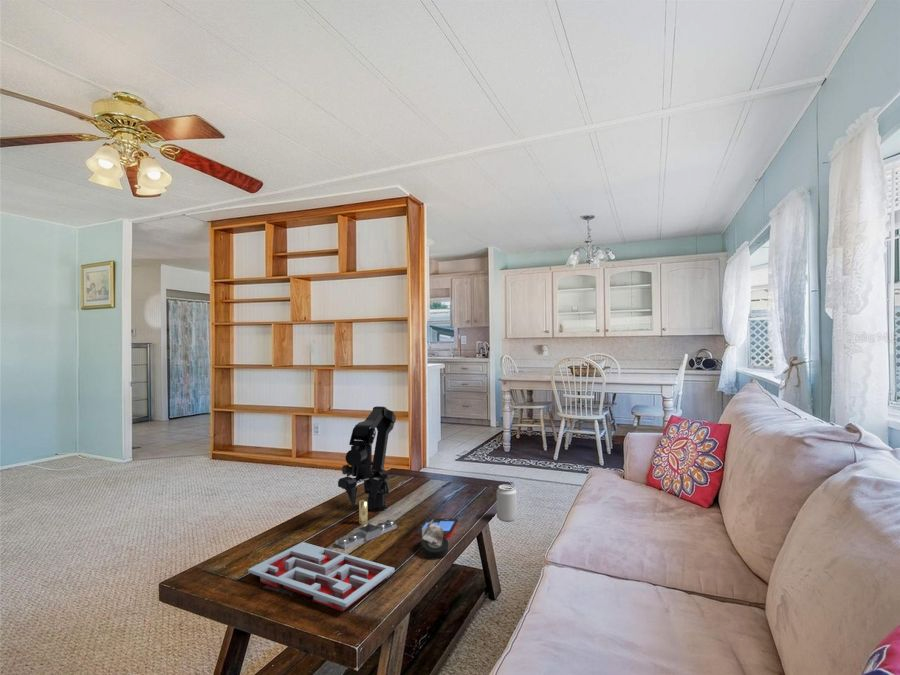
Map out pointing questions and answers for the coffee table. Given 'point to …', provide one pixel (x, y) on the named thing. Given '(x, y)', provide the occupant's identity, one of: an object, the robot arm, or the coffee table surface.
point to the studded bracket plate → (365, 533)
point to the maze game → (322, 574)
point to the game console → (445, 523)
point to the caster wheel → (434, 541)
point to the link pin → (363, 512)
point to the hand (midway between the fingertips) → (363, 502)
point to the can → (506, 503)
